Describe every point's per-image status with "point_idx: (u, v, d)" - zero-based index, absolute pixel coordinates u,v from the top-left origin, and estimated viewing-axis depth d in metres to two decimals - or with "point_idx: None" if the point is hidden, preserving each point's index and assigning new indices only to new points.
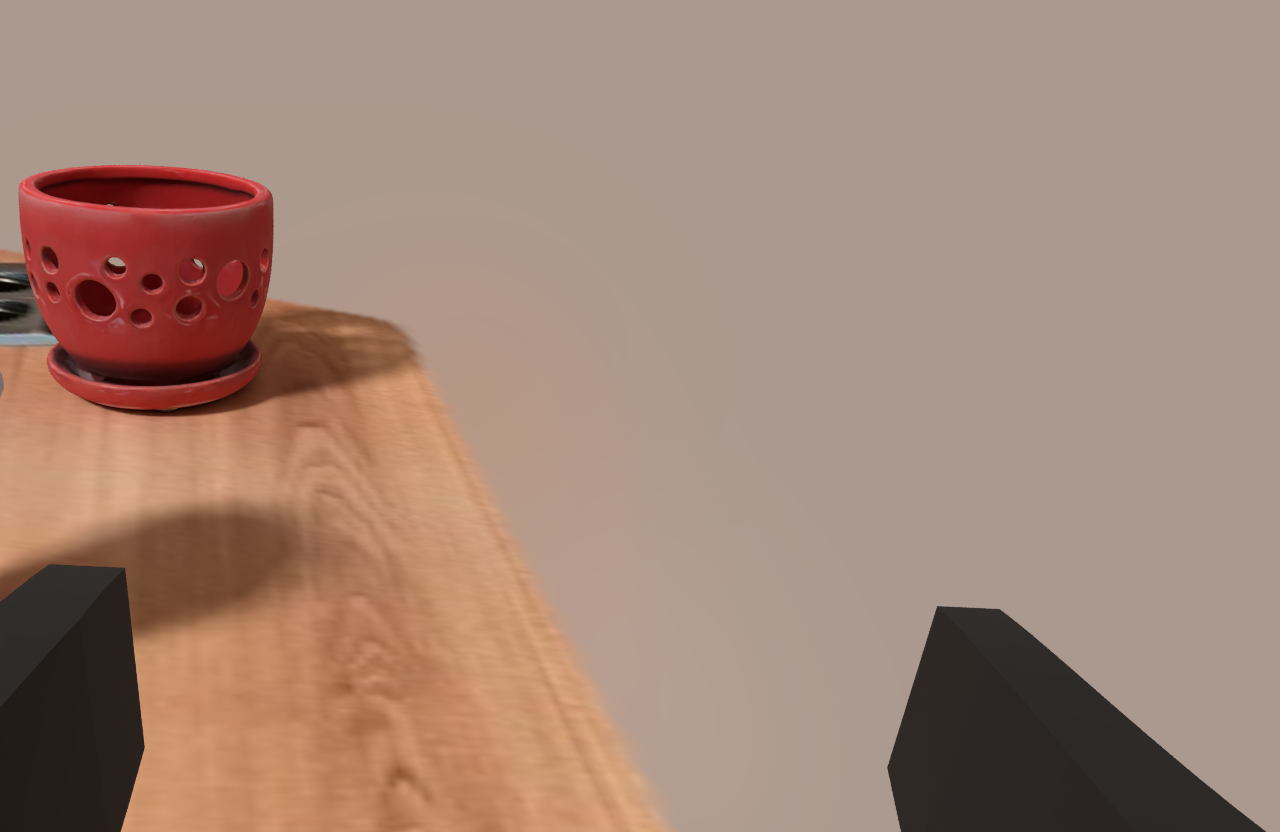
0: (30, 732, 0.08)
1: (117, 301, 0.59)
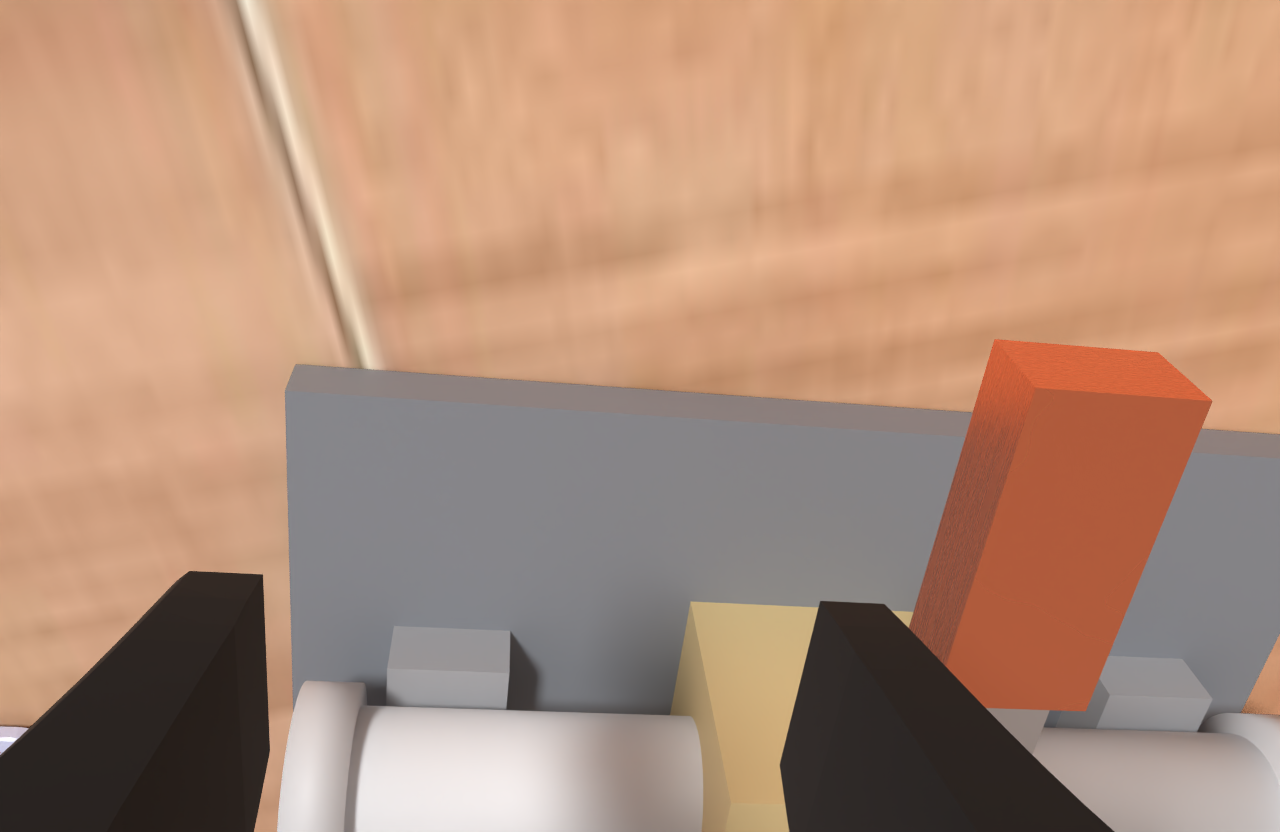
0: (199, 736, 0.08)
1: None
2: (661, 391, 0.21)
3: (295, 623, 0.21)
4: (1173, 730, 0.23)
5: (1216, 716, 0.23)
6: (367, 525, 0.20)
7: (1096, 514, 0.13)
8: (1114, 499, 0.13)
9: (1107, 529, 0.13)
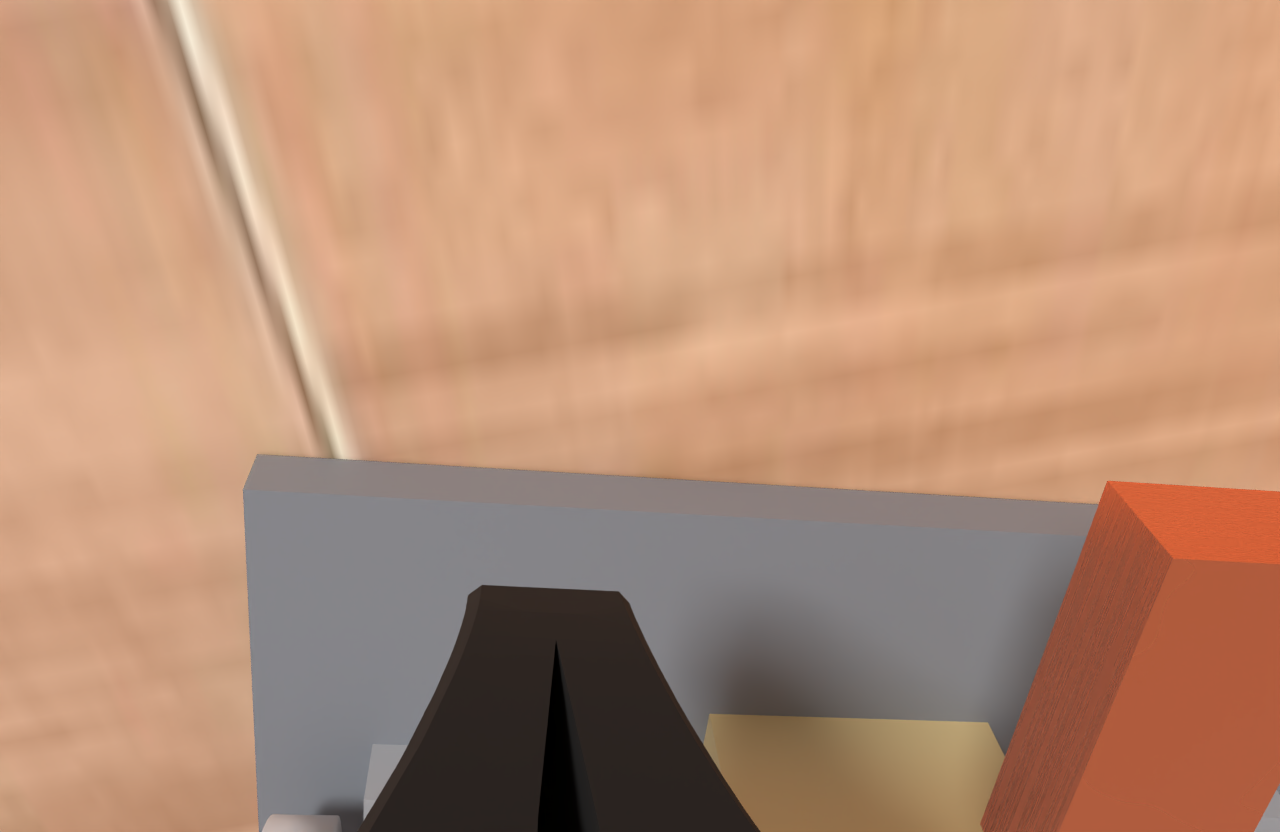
0: None
1: None
2: (678, 481, 0.18)
3: (260, 742, 0.19)
4: None
5: None
6: (340, 636, 0.18)
7: (1237, 703, 0.10)
8: (1261, 685, 0.10)
9: (1249, 719, 0.10)
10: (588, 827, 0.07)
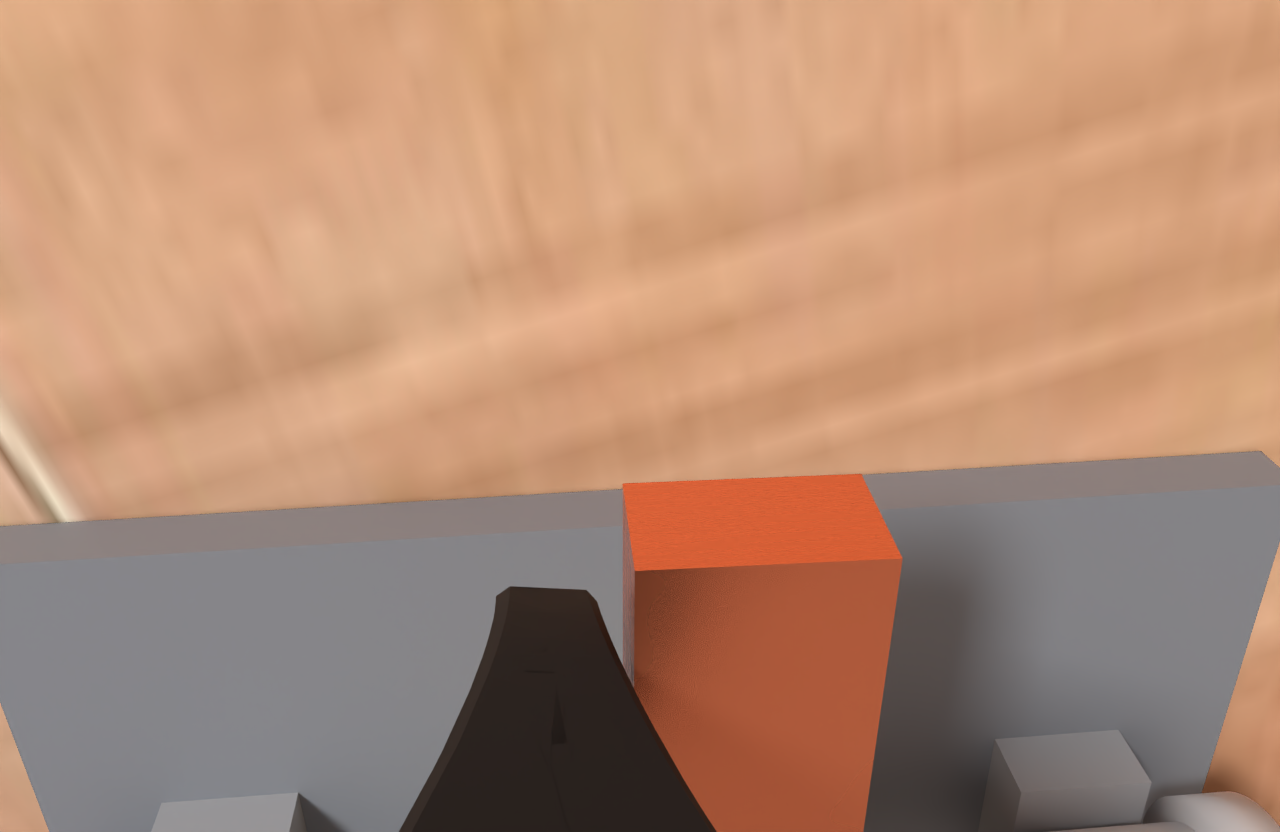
0: None
1: None
2: (417, 503, 0.17)
3: (48, 813, 0.19)
4: (1111, 821, 0.19)
5: (1163, 798, 0.19)
6: (94, 700, 0.17)
7: (779, 716, 0.09)
8: (799, 695, 0.09)
9: (802, 732, 0.09)
10: None
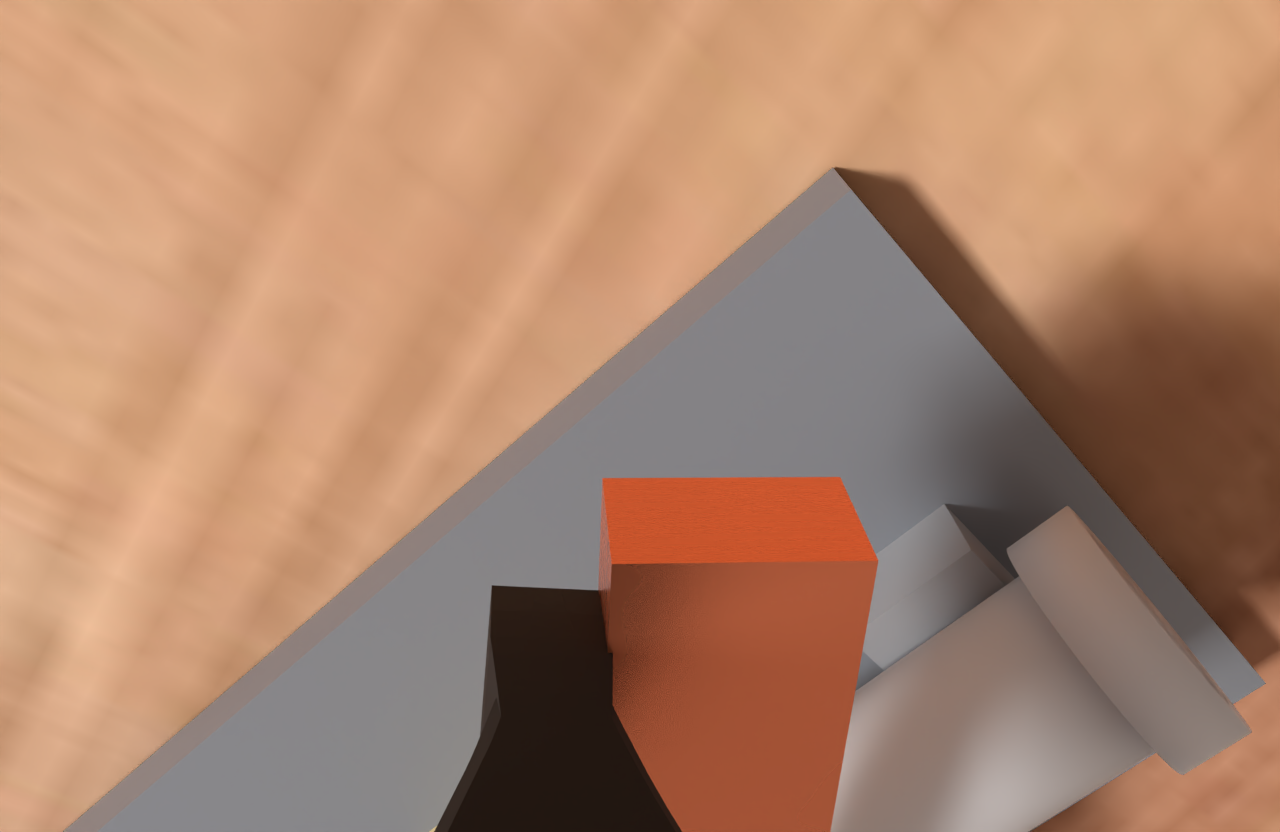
0: None
1: None
2: (200, 714, 0.19)
3: None
4: (976, 604, 0.17)
5: None
6: None
7: (751, 715, 0.09)
8: (771, 695, 0.09)
9: (773, 732, 0.09)
10: None
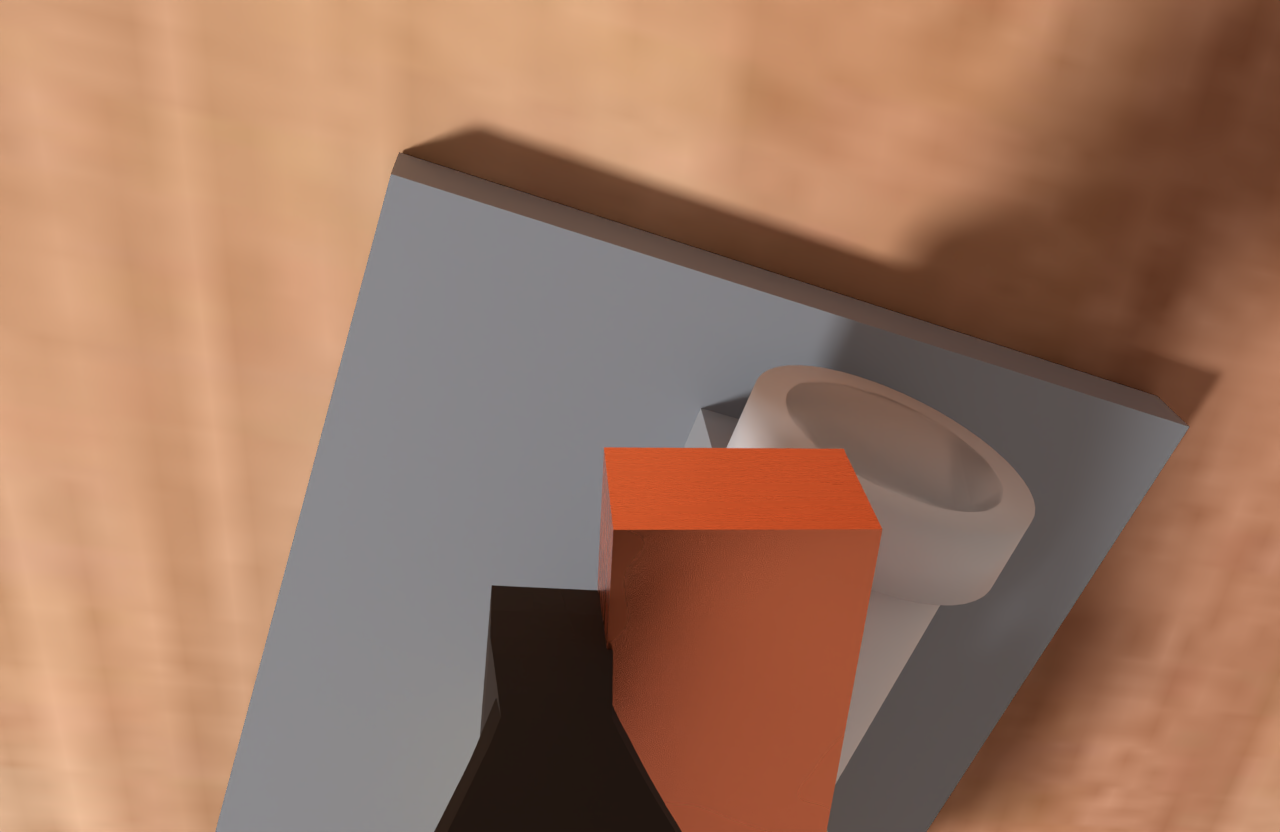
0: None
1: None
2: None
3: None
4: None
5: None
6: None
7: (752, 687, 0.09)
8: (773, 666, 0.09)
9: (774, 705, 0.09)
10: None
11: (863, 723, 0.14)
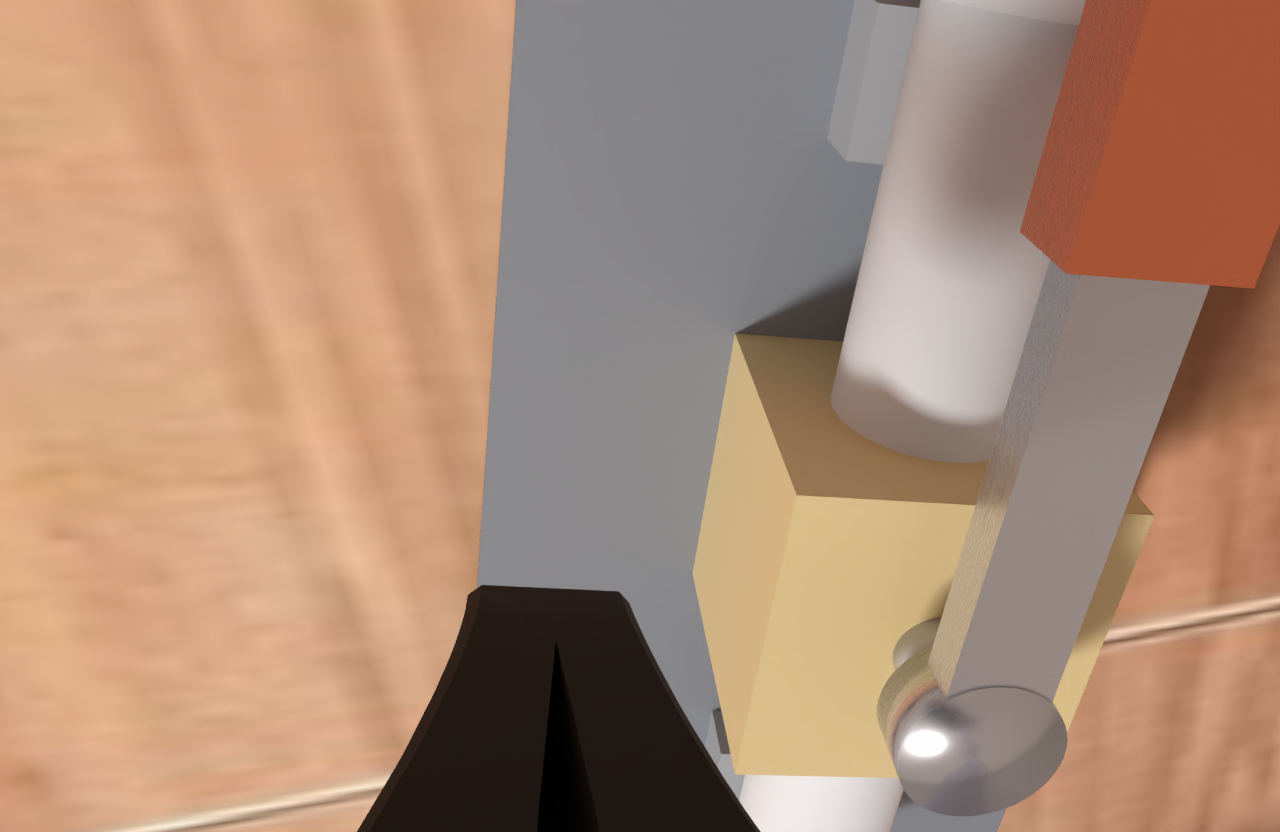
0: None
1: None
2: None
3: None
4: None
5: None
6: None
7: None
8: None
9: None
10: (588, 827, 0.07)
11: None
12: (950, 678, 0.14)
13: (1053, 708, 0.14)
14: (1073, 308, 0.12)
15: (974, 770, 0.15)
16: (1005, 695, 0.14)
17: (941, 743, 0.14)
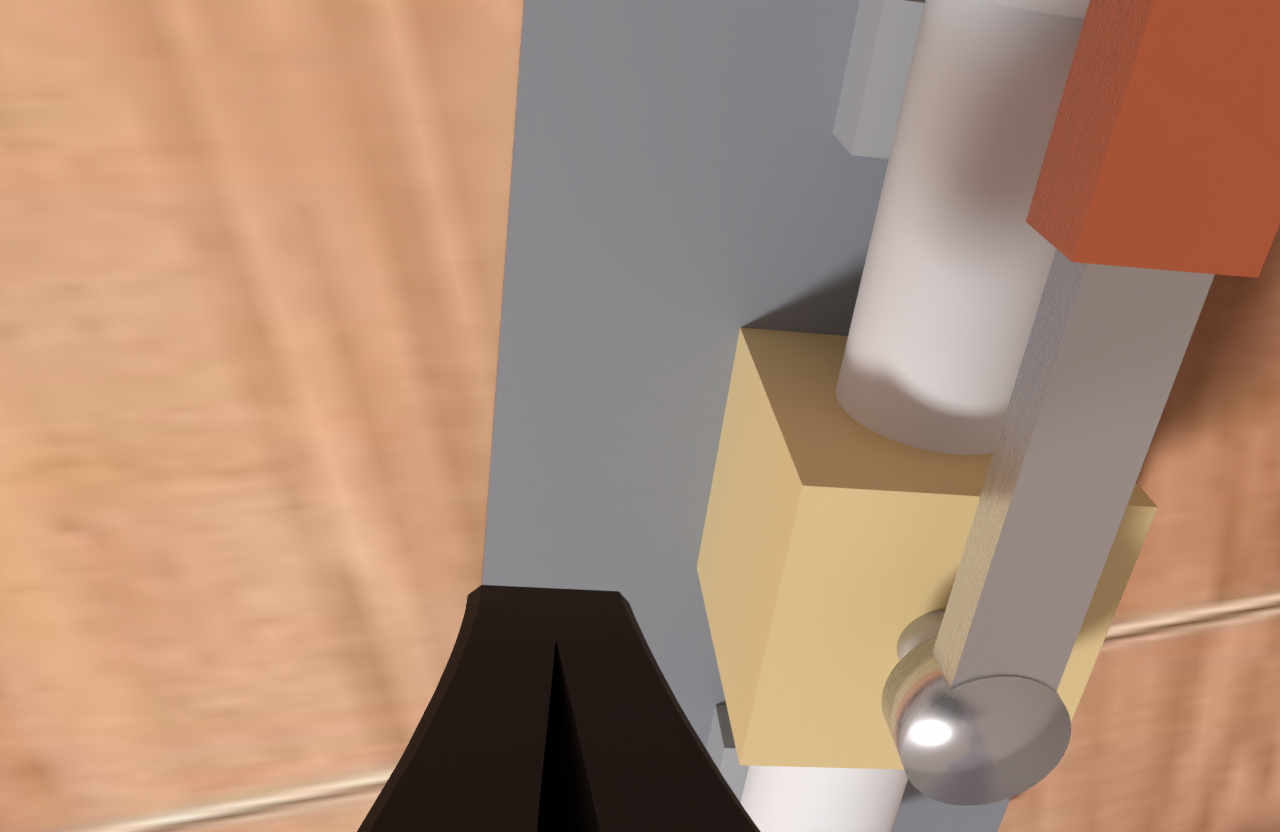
0: None
1: None
2: None
3: None
4: None
5: None
6: None
7: None
8: None
9: None
10: (588, 827, 0.07)
11: None
12: (955, 667, 0.14)
13: (1057, 697, 0.14)
14: (1078, 297, 0.12)
15: (978, 759, 0.15)
16: (1010, 684, 0.14)
17: (946, 732, 0.15)
